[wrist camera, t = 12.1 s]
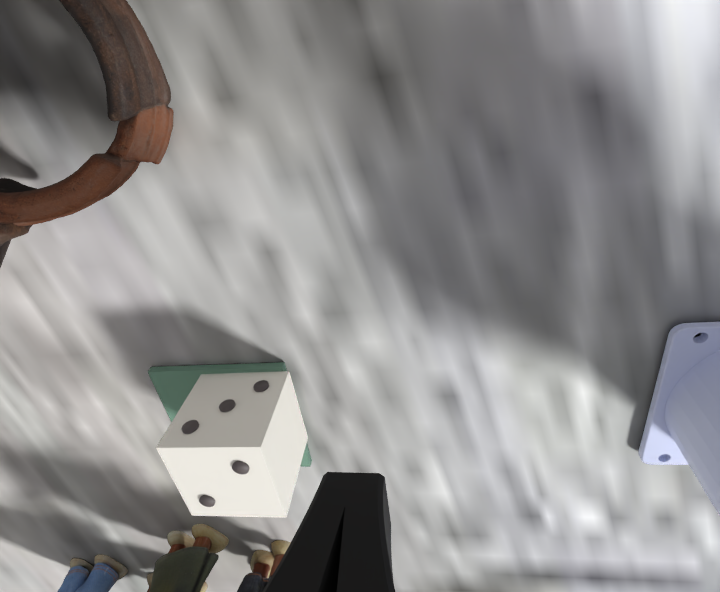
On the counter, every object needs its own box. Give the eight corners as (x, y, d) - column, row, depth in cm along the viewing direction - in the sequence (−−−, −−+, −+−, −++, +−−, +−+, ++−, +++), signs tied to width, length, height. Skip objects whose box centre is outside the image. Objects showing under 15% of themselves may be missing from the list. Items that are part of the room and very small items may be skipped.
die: (288, 369, 22) (259, 447, 18) (307, 437, 24) (286, 519, 20) (198, 372, 22) (151, 448, 18) (225, 438, 25) (189, 517, 21)
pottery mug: (-135, -126, 14) (-388, -313, 7) (185, 6, 19) (212, -35, 12) (-129, 240, 18) (-296, 342, 11) (139, 276, 22) (140, 364, 15)
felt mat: (284, 362, 22) (282, 367, 21) (311, 460, 25) (310, 466, 25) (151, 366, 23) (147, 372, 23) (195, 460, 27) (192, 465, 26)
